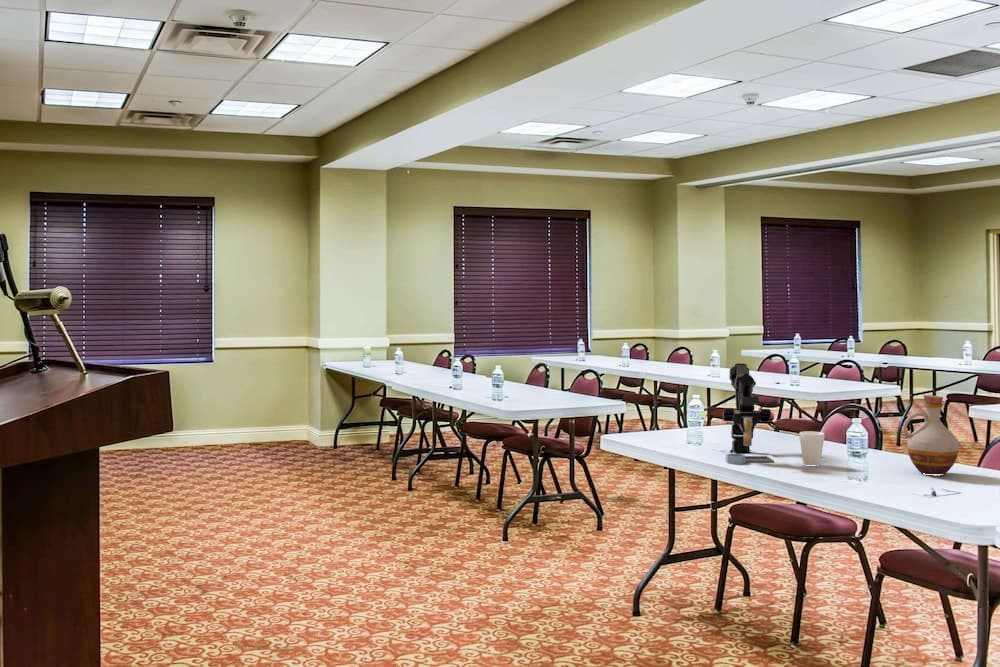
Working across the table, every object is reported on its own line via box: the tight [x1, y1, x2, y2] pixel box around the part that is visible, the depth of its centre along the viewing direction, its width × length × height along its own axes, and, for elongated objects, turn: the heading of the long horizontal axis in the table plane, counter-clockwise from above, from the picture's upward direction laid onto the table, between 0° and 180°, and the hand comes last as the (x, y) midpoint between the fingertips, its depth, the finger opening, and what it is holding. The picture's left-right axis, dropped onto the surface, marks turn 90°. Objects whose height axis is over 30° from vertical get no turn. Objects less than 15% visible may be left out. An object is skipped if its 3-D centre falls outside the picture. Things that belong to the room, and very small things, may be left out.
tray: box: [745, 455, 775, 464], centre depth 373 cm, size 10×11×2 cm
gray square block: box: [725, 453, 746, 465], centre depth 369 cm, size 7×7×4 cm
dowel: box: [743, 417, 753, 447], centre depth 370 cm, size 3×3×11 cm
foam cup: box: [798, 430, 825, 466], centre depth 366 cm, size 10×9×13 cm
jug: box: [902, 394, 960, 475], centre depth 346 cm, size 20×18×30 cm
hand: (748, 431), depth 369 cm, fingers closed on dowel, 3 cm apart
